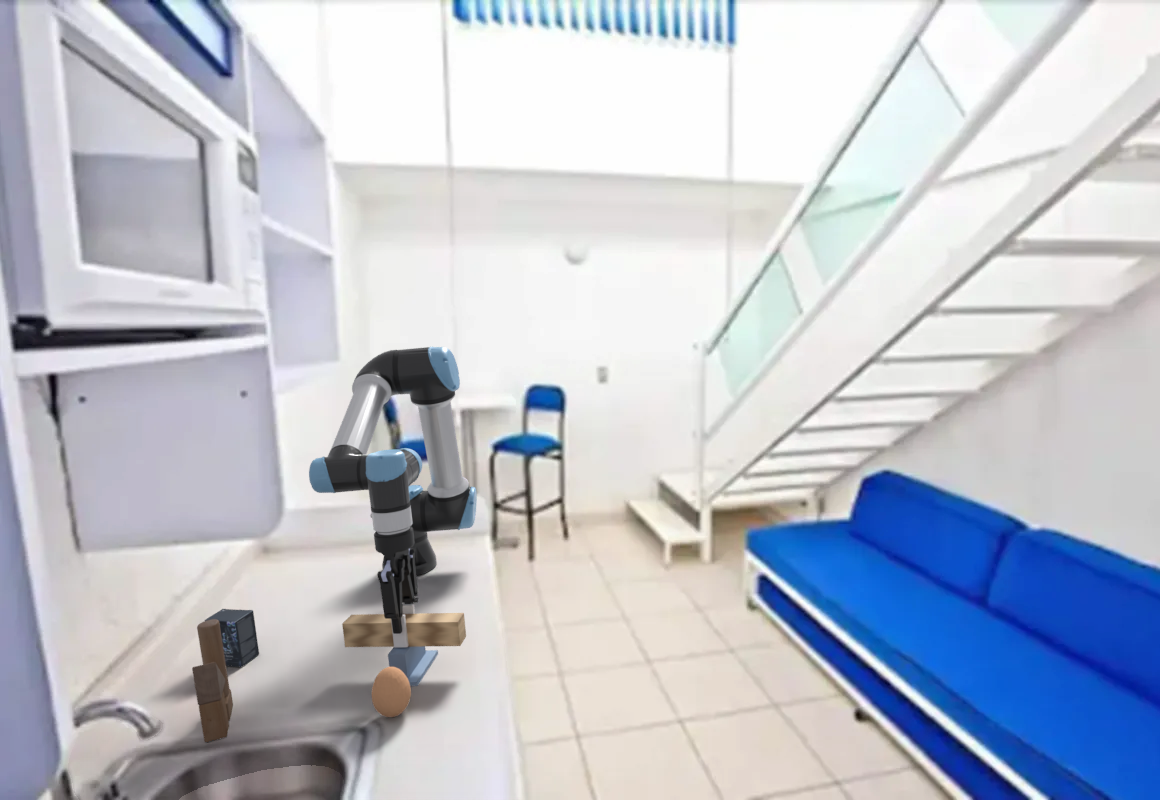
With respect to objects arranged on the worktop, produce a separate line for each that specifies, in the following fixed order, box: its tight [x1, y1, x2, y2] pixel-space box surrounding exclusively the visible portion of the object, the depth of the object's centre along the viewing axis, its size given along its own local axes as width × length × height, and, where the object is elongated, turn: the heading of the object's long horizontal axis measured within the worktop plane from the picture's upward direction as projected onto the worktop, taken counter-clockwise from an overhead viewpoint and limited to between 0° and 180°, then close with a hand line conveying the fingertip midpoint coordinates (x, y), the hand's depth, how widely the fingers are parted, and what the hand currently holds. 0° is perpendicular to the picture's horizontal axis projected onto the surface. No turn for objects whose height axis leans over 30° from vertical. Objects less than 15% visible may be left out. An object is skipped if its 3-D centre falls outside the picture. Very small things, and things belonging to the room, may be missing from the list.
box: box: [204, 608, 260, 668], centre depth 142 cm, size 8×6×11 cm
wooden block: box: [191, 619, 234, 743], centre depth 118 cm, size 4×11×18 cm, turn 23°
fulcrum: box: [387, 646, 439, 687], centre depth 133 cm, size 12×8×6 cm, turn 173°
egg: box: [371, 666, 412, 718], centre depth 117 cm, size 7×7×9 cm
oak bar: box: [341, 612, 467, 648], centre depth 132 cm, size 24×4×5 cm, turn 83°
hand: (405, 640), depth 132 cm, fingers closed on oak bar, 4 cm apart
